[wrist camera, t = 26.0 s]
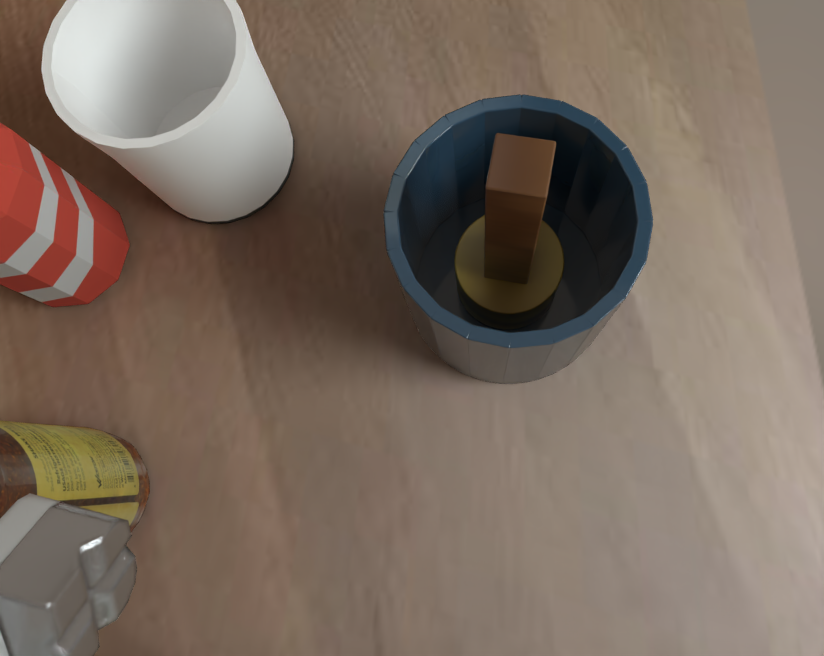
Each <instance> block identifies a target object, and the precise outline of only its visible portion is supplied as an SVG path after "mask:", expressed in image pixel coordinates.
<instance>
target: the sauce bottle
mask: <svg viewBox="0 0 824 656" xmlns="http://www.w3.org/2000/svg"><path fill="white" fill-rule="evenodd" d="M29 493H30V494H34V495H38V496H42V497H46V498H50V499H53V500H57V501H61V502H64V503H67V504H71V505H75V506H78V507H82V508H86V509H89V510H93V511H96V512H100V513H104V514H107V515H111V516H114V517H118V518H122V519H125V520H128V521H129V526H130V530H131V532H132V530H133V529H134V527H135V526H136V525H137V524H138V522H139V520H140V517H141V515H142V513H143V511H144V509H145V506H146V502H147V500H148V495H149V493H150V491H149V477H148V473H147V469H146V467H145V466H144V464H143V461H142V459H141V457H140V455H139V454H138V452H137V450H136V449H135V448H134V447H133V446H132V445H131V444H130V443H128V442H126V441H125V440H123V439H120V438H119V437H117V436H115V435H112V434H109V433H106V432H103V431H100V430H96V429H92V428H86V427H74V426H59V425H47V424H33V423H20V422H9V421H0V518H1V517H2V516H3V515H4V514H5V513H6V512H7V511H8V510H9V508H10V507H11V506H12V505H13V504H14V503H15V502H16V501H17V500H19V499H20V498H22V497H24V496H26V495H28V494H29Z"/></svg>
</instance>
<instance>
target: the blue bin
mask: <svg viewBox="0 0 824 656" xmlns="http://www.w3.org/2000/svg"><path fill="white" fill-rule="evenodd" d="M496 133H502V134H509V135H516V136H523V137H530V138H537V139H544V140H551V141H555V142H556V149H555V155H554V160H553V166H552V172H551V178H550V183H549V189H548V195H547V200H546V204H545V208H544V213H543V217H542V220H543V221H544V222H545V223H547V224H548V225H549V226H550V227H551V228H552V230H553V231H554V232H555V234H556V235H557V237H558V239H559V241H560V243H561V246H562V249H563V253H564V271H563V275H562V278H561V281H560V284H559V286H558V289H557V291H556V294H555V297H554V299H553V302H552V303H551V305H550V307H549V308H548V310H547V311H546V312H545V313H544V314H543V315H542V316H541V317H540V318H539V319H538V320H536V321H535V322H533V323H531V324H529V325H527V326H525V327H521V328H517V329H506V330H504V329H497V328H492V327H489V326H487V325H485V324H483V323H481V322H479V321H478V320H476V319H475V318H474V317H473V316H472V315H470V314H469V312H468V311H467V310H466V309H465V307H464V306H463V304H462V302H461V300H460V298H459V294H458V290H457V283H456V275H455V265H454V259H455V251H456V248H457V245H458V242H459V240H460V238H461V236H462V235H463V233H464V232H465V230H466V229H467V228H468V227H469V226H470V225H471V224H472V223H473V222H474V221H476V220H477V219H479V218H480V217H482V216H484V215H485V186H486V181H487V176H488V171H489V165H490V160H491V155H492V150H493V144H494V139H495V135H496ZM383 216H384V228H385V241H386V250H387V254H388V257H389V259H390V262H391V264H392V267H393V269H394V272H395V275H396V277H397V280H398V282H399V285H400V287H401V290H402V292H403V295H404V298H405V300H406V303H407V305H408V308H409V310H410V312H411V315H412V317H413V319H414V322H415V324H416V327H417V329H418V331H419V333H420V335H421V337H422V338H423V339H424V340H425V342H426V343H427V344H428V346H429V347H430V348H431V349H432V350H433V351H434V352H435V353H436V355H437V356H438V357H439V358H441V359H442V360H443V361H444V362H446V363H447V364H448V365H449V366H451V367H453V368H454V369H456V370H458V371H459V372H461V373H463V374H466V375H468V376H470V377H473V378H476V379H479V380H483V381H486V382H493V383H500V384H516V383H525V382H530V381H534V380H538V379H541V378H544V377H547V376H549V375H552V374H554V373H556V372H557V371H559V370H561V369H563V368H565V367H566V366H568V365H569V364H570V363H571V362H573V361H574V360H575V359H576V358H577V357H578V356H579V355H580V354H582V353H583V352H584V351H585V350H586V349H587V348H588V347H589V346H590V345H591V344H592V342H593V341H594V340H595V338H596V337H597V336H598V334H599V333H600V332H601V330H602V329H603V328H604V326H605V325H606V324H607V322H608V321H609V320H610V318H611V317H612V316H613V314H614V313H615V312H616V311H617V309H618V308H619V307H620V305H621V304H622V303H623V301H624V300H625V299H626V297H627V295H628V294H629V292H630V290H631V288H632V287H633V285H634V283H635V281H636V280H637V278H638V276H639V274H640V272H641V271H642V269H643V267H644V265H645V264H646V261H647V255H648V250H649V244H650V239H651V233H652V228H653V216H652V210H651V204H650V198H649V192H648V185H647V183H646V180H645V178H644V176H643V174H642V172H641V170H640V168H639V167H638V165H637V163H636V161H635V159H634V157H633V155H632V154H631V152H630V150H629V148H628V147H627V146H626V144H624V143H623V142H622V141H621V140H620V139H619V138H618V137H617V136H616V135H615V134H614V133H613V132H612V131H611V130H610V129H609V128H608V127H606V126H605V125H604V124H603V123H602V122H601V121H600V120H598V118H596V117H594V116H592V115H590V114H588V113H586V112H584V111H582V110H580V109H578V108H576V107H574V106H572V105H570V104H568V103H566V102H563V101H562V102H561V101H559V100H553V99H547V98H541V97H535V96H529V95H522V96H521V95H511V96H503V97H495V98H487V99H482V100H478V101H476V102H474V103H471V104H469V105H467V106H464V107H462V108H460V109H457V110H455V111H453V112H450V113H448V114H446V115H445V116H443V117H441V118H440V119H439V120H438V121H437V122H436V123H434V124H433V125H432V126H431V127H430V128H428V129H427V130H426V131H425V132H424V133H423V134H421V135H420V136H419V137H418V138H417V139H415V141H414V142H413V143H412V144H411V146H410V148H409V149H408V151H407V152H406V154H405V155H404V157H403V159H402V160H401V162H400V163H399V165H398V166H397V168H396V170H395V171H394V173H393V176H392V179H391V183H390V187H389V191H388V195H387V199H386V203H385V207H384V213H383Z"/></svg>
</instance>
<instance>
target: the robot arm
mask: <svg viewBox="0 0 824 656" xmlns="http://www.w3.org/2000/svg"><path fill="white" fill-rule="evenodd" d="M131 536H132V534H131V530H130V526H129V521H128V520H125V519H122V518H118V517H114V516H111V515H107V514H104V513H100V512H96V511H93V510H89V509H86V508H82V507H78V506H75V505H71V504H67V503H64V502H61V501H57V500H53V499H50V498H46V497H42V496H38V495H34V494H30V493H29V494H28V495H26V496H24V497H22V498H20V499H19V500H17V501H16V502H15V503H14V504H13V505H12V506H11V507H10V508H9V510H8V511H7V512H6V513H5V514H4V515H3V516H2V517H1V518H0V656H94V655H95V653H96V652H97V650H98V648H99V647H100V646H99V632H98V630H100V629H102V628H104V627H105V626H107V625H109V624H111V623H112V622H114V621H116V620H117V619H118V617H119V616H120V614H121V613H122V611H123V609H124V608H125V606H126V604H127V603H128V601H129V598H130V595H131V593H132V590H133V587H134V585H135V581H136V572H137V565H136V558H135V555H134V554H133V553H132V552H131V551H130V550H129V549H128V547H127V546H126V544H127V542H128V541H129V539H130V538H131Z"/></svg>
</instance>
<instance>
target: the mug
mask: <svg viewBox="0 0 824 656" xmlns="http://www.w3.org/2000/svg"><path fill="white" fill-rule="evenodd" d="M41 71H42V76H43V81H44V86H45V92H46V95H47V96H48V98H49V100H50V102H51V104H52V106H53V108H54V110H55V112H56V113H57V115H58V116H59V117H60V118H61V119H62V120H63V121H64V122H65V123H66V124H67V125H68V126H69V127H70V128H71V129H72V130H73V131H74V132H75V133H77V134H78V135H79V136H81V137H82V138H84V139H85V140H87V141H88V142H90V143H91V144H93V145H94V146H96V147H97V148H99V149H100V150H102V151H103V152H105V153H106V154H108V155H109V156H111V157H112V158H113V159H114V160H116V161H117V162H118V163H119V164H120V165H121V166H123V167H124V168H125V169H126V170H127V171H129V172H130V173H131V174H132V175H133V176H134V177H136V178H137V179H138V180H139V181H140V182H142V183H143V184H144V185H145V186H146V187H148V188H149V189H150V190H151V191H152V192H153V193H155V194H156V195H157V196H158V197H159V198H161V199H162V200H163V201H164V202H165V203H166V204H168V205H169V206H170V207H171V208H172V209H174V210H175V211H176V212H178V213H180V214H182V215H183V216H185V217H187V218H189V219H191V220H195V221H199V222H204V223H209V224H216V223H230V222H234V221H237V220H240V219H243V218H247V217H249V216H251V215H252V214H254V213H256V212H257V211H259V210H261V209H262V208H264V207H265V206H266V205H267V204H268V203H269V202H270V201H271V200H272V199H273V198H274V197H275V196H276V195H277V194H278V193H279V192H280V190H281V189H282V187H283V185H284V184H285V182H286V180H287V179H288V177H289V174H290V170H291V167H292V164H293V160H294V139H293V135H292V131H291V128H290V124H289V122H288V120H287V118H286V116H285V114H284V111H283V109H282V107H281V105H280V103H279V101H278V98H277V96H276V94H275V92H274V90H273V88H272V86H271V83H270V81H269V79H268V77H267V75H266V73H265V70H264V68H263V66H262V64H261V62H260V60H259V58H258V55H257V53H256V51H255V49H254V46H253V43H252V40H251V37H250V34H249V31H248V28H247V25H246V22H245V19H244V16H243V13H242V10H241V8H240V7H239V5H238V4H237V2H236V0H67V1H66V2H65V4H64V5H63V7H62V8H61V9H60V11H59V12H58V14H57V15H56V17H55V18H54V20H53V21H52V24H51V27H50V29H49V32H48V35H47V37H46V40H45V43H44V47H43V57H42V67H41Z"/></svg>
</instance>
